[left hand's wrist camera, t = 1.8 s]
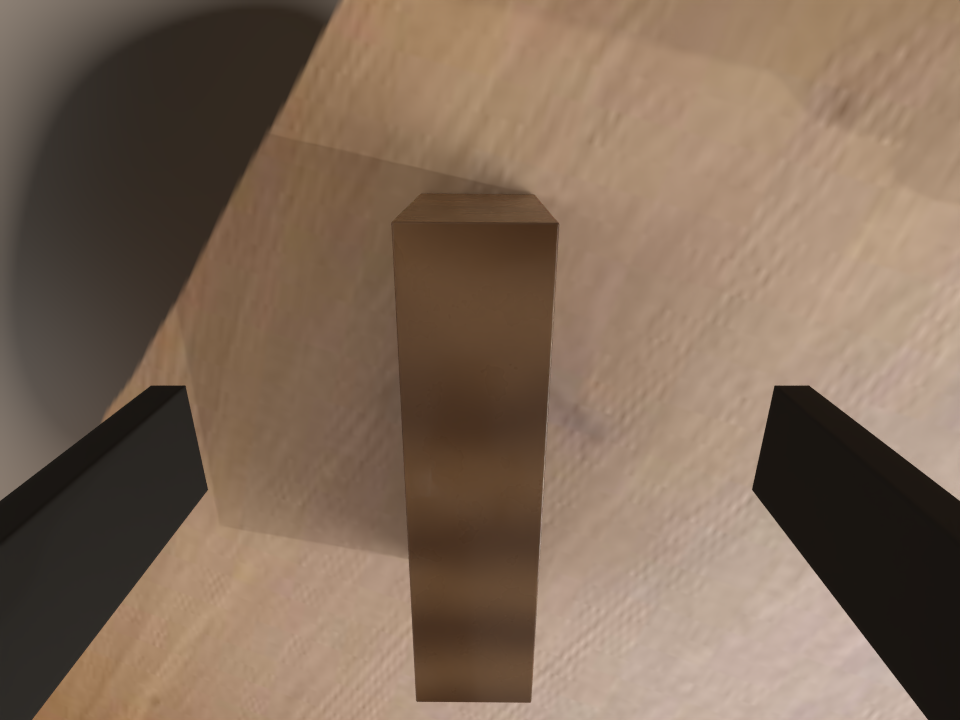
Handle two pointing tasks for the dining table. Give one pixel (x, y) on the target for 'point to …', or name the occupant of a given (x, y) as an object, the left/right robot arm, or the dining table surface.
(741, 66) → the dining table surface
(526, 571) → the bar
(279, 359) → the dining table surface
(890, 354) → the dining table surface
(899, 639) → the left robot arm
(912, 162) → the dining table surface
